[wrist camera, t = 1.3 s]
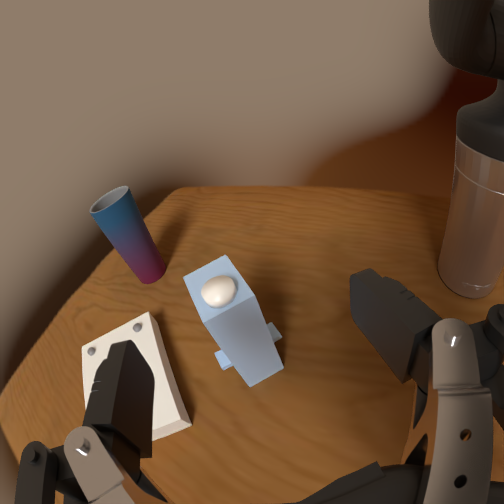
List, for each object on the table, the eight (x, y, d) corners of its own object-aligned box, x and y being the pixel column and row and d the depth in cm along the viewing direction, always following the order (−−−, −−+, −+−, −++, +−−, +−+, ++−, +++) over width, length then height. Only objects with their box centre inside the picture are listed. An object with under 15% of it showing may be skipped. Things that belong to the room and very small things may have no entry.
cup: (139, 265, 47) (98, 196, 38) (172, 254, 46) (133, 180, 37) (133, 292, 42) (82, 218, 32) (168, 282, 41) (121, 201, 32)
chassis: (92, 355, 33) (80, 345, 31) (157, 322, 35) (146, 309, 33) (106, 455, 21) (89, 449, 19) (192, 425, 23) (178, 417, 21)
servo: (218, 354, 29) (165, 277, 21) (269, 326, 31) (236, 240, 23) (238, 393, 25) (181, 325, 17) (294, 361, 26) (268, 277, 18)
